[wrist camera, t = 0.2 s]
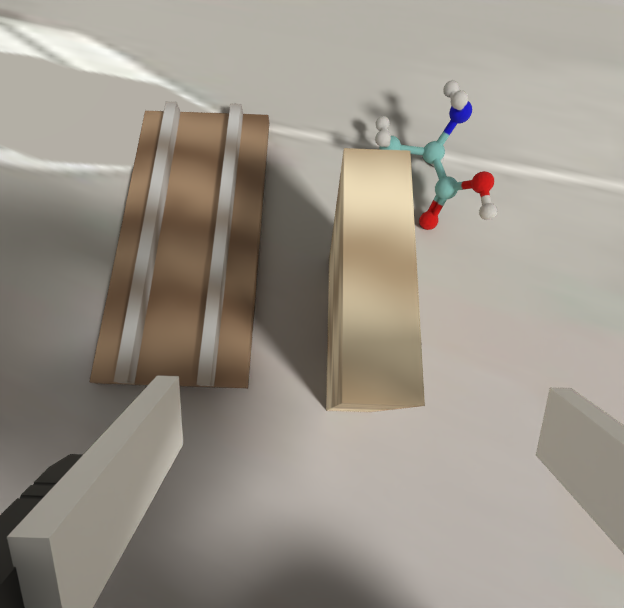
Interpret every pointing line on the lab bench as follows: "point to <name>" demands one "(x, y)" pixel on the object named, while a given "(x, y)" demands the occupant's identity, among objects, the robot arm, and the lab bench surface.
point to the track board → (187, 252)
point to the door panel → (374, 287)
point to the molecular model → (434, 156)
